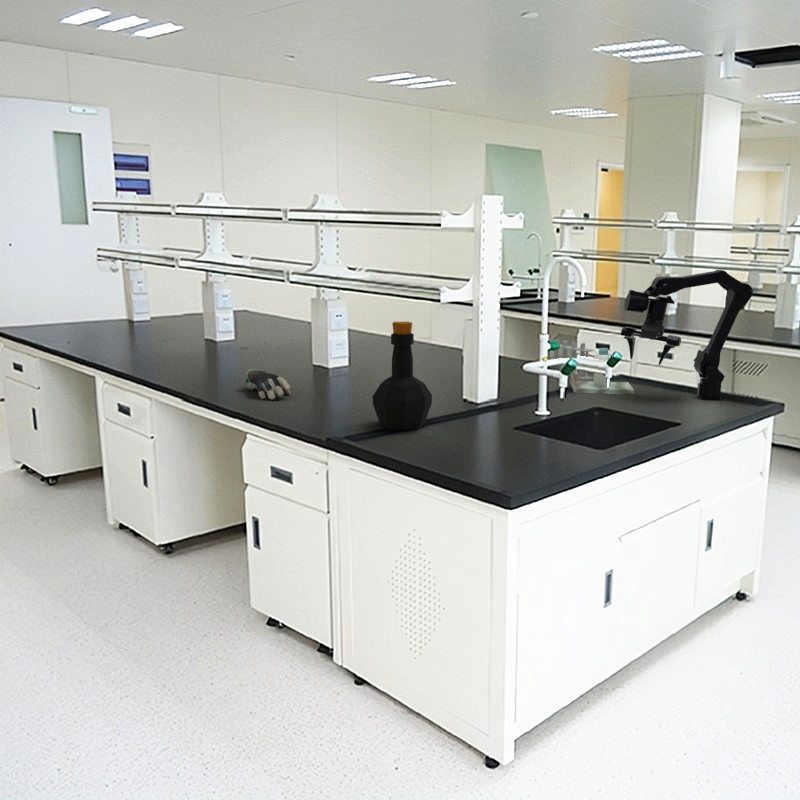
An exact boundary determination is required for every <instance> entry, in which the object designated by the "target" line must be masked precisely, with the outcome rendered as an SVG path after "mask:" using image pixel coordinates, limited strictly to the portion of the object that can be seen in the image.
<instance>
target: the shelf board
mask: <svg viewBox="0 0 800 800" xmlns="http://www.w3.org/2000/svg"><path fill="white" fill-rule="evenodd" d="M570 378H571V379H570V386H571V388H572V391H573V393H574V394H596V395H597V394H598V395H600V394H603V395H605V394H607V395H635V389H634V388H633V386H632V385H631V384H630V382H628V381H611V386H610V387H609V389H608V388H607V387H597V386H593V381H589V380H588V381H587V380H579V379H578V378H579V371H578V370H577V369H576V371H574V372H573V373H572V375H571V377H570Z"/></svg>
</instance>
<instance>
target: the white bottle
mask: <svg viewBox="0 0 800 800" xmlns="http://www.w3.org/2000/svg"><path fill="white" fill-rule="evenodd" d="M611 355H612V356H613V354H612V353H609V348H608V347H600V348H598V352H597V353H594V359H599V360H604V361H606V360H607V359H608V358H609V357H610V356H611ZM594 359H593V360H594ZM592 380H593V386H597V387H607V383H606V377H605V376H604V375H602V374H598V373H594V372H593V379H592ZM611 382H612V380H611V381H610V386H611Z"/></svg>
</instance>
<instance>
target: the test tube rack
mask: <svg viewBox="0 0 800 800" xmlns="http://www.w3.org/2000/svg"><path fill="white" fill-rule="evenodd" d="M548 338H549V339H550V340H551V341H552V339H551V337H548ZM555 341H556V342H557V343H558V344H560V339H559V338H555V339H554V342H555ZM540 343H541V342H538V343H537V345H540ZM570 344H571V345H568V340H566V339H565V340H563V341H562V344H560V346H561V348H560V349H562V355H561V356H562V357H561V359H562V358H567V359H568V350H570V352H571V353H570V354H571V355H570V359H571V358H572V357H576V358H577V356H576V355H577V351H578V352H579V357H580V356H585V358H586V357H588V358H589V352H594V350H595V349H589V348H586V343H585V342H581V343H580V345H579V347H577V342H576V341H571V343H570ZM560 349H559V350H560ZM559 350H557V351H554V350H553V360H554V359H557V358H558V359H559ZM548 357H549V359H550V360H551V351H550V352H549V356H548ZM578 370H579V369H578ZM578 374H579V378H578V380H581V381H587V380H588V381H589V380H593V378H594V376H589V375H588V371H587V372H585V370H584V371H580V370H579V371H578Z"/></svg>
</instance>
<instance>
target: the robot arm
mask: <svg viewBox="0 0 800 800" xmlns="http://www.w3.org/2000/svg"><path fill="white" fill-rule="evenodd" d="M713 284H718V285H719V286H720V287H721V288H722V289H723V290H725V291H726V295H725V300H724V301H725V302H724V303H725V304H724V309H723V311H722V313H721V315H720V317H719V319H718V321H717V324H716V327H715V328H714V330H713V332H712V335H711V336H710V339H709V341H708V344H707V346H706V347H705V348H704V349H703V350H701V349H699V350H697V353H696V357H695V358H694V359H693V362H694V363H693V368H694V370H695V372H696V373H697V374H698V376H699V378H700V379H699V382H698V383H697V389H696V390H697V391H696V395H697V397H699V398H700V399H701V400H716V401H717V400H722V399H723V398H722V397H721V396H722V395H721V392H722V383H723V381H724V379H725V375H724V374H723V372H721V371H720V370H719V366H720V364H721V363H720V362H721V352H722V350H723V347H724V346H725V343H726V341H727V338H728V337H729V335H730V333H731V330H732V328H733V325H734V323H735V321H736V319H737V316H738V315H739V314H740V311H741V310H742V309H744V307H745V306H746V305H748V303H749V301H750V299H751V298H752V297H753V293H754V290H753V287H752V286H751V285H750V284H748V283H746V282H741V281H740V280H739V279H737V278H735V277H733V276H732V275H731V274H729V273H728V271H726V270H722V269H716V270H712V271H706V272H702V273H695V274H690V275H689V274H688V275H683V276H657V277H655V278H654V279H653V280H652V282H651V284H650V286H649V287H647V288H646V289H645V290H644V291H636V290H634V289H629V290H628V293H627V295H626V298H625V299H624V305H623V306H624V308H623V309H624V311H627V312H631V313H633V312H634V313H640V314H643V313H644V312H646V311H647V312H646V315H645V320H644V323H643V325H642V326H641V328H640V329H641V330H637V328H636V327H632V326H631V327H630V326H624V327H622V328H621V330H620V336H623V339H625V340H626V341H627V345H628V348H629V357H630V360H632V359H633V357H634V353H635V346H636V337H639V338H642V339H649V340H652V341H654V340H655V341H659V342H665V343H666V344H664V345H663V350H662V352H661V355H660V358H659V362H658V366H661V365H662V362H663V361H664V359H665V358H666V356H667V355H668V353H669V352H670V350H671V349H675V348H676V347H680V346H681V343H682V338H681V336H677V335H671V334H668V335H664V333H665V325H664V322H665V317H666V311H667V307H668V304H670V305H671V304H672V305H674V304H675V303H676V302H675V301H674V300H673V297H672V296H671V294H672V295H673V294H675V293H677V292H679V291H681V290H684V289H689V288H695V287H701V286H707V285H713ZM650 297H651V298H650Z"/></svg>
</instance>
